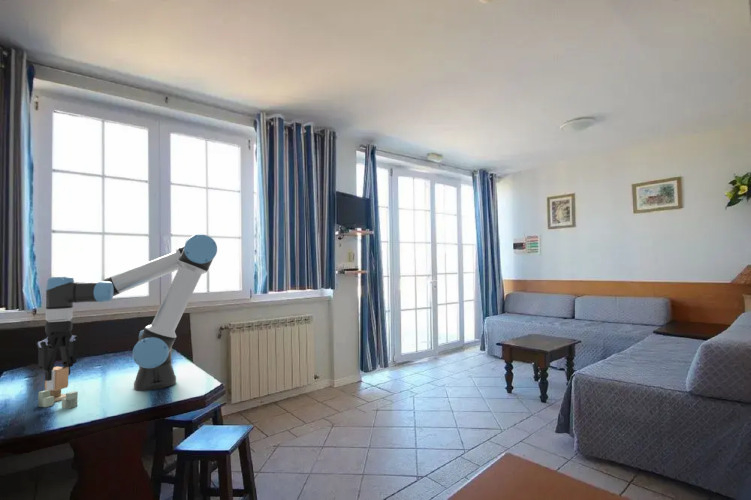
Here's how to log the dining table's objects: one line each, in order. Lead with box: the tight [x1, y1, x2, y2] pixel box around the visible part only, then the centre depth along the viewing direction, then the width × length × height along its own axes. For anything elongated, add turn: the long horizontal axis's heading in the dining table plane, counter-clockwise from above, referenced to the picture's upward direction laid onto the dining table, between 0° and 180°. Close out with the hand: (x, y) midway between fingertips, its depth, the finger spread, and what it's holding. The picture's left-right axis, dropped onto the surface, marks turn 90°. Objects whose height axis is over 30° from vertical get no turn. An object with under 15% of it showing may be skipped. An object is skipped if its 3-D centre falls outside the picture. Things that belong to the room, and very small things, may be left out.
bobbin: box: [50, 389, 66, 403], centre depth 145 cm, size 7×7×8 cm
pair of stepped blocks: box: [37, 389, 78, 409], centre depth 138 cm, size 14×2×5 cm, turn 77°
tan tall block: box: [44, 366, 69, 391], centre depth 138 cm, size 5×4×7 cm
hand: (57, 387), depth 138 cm, fingers closed on tan tall block, 4 cm apart
